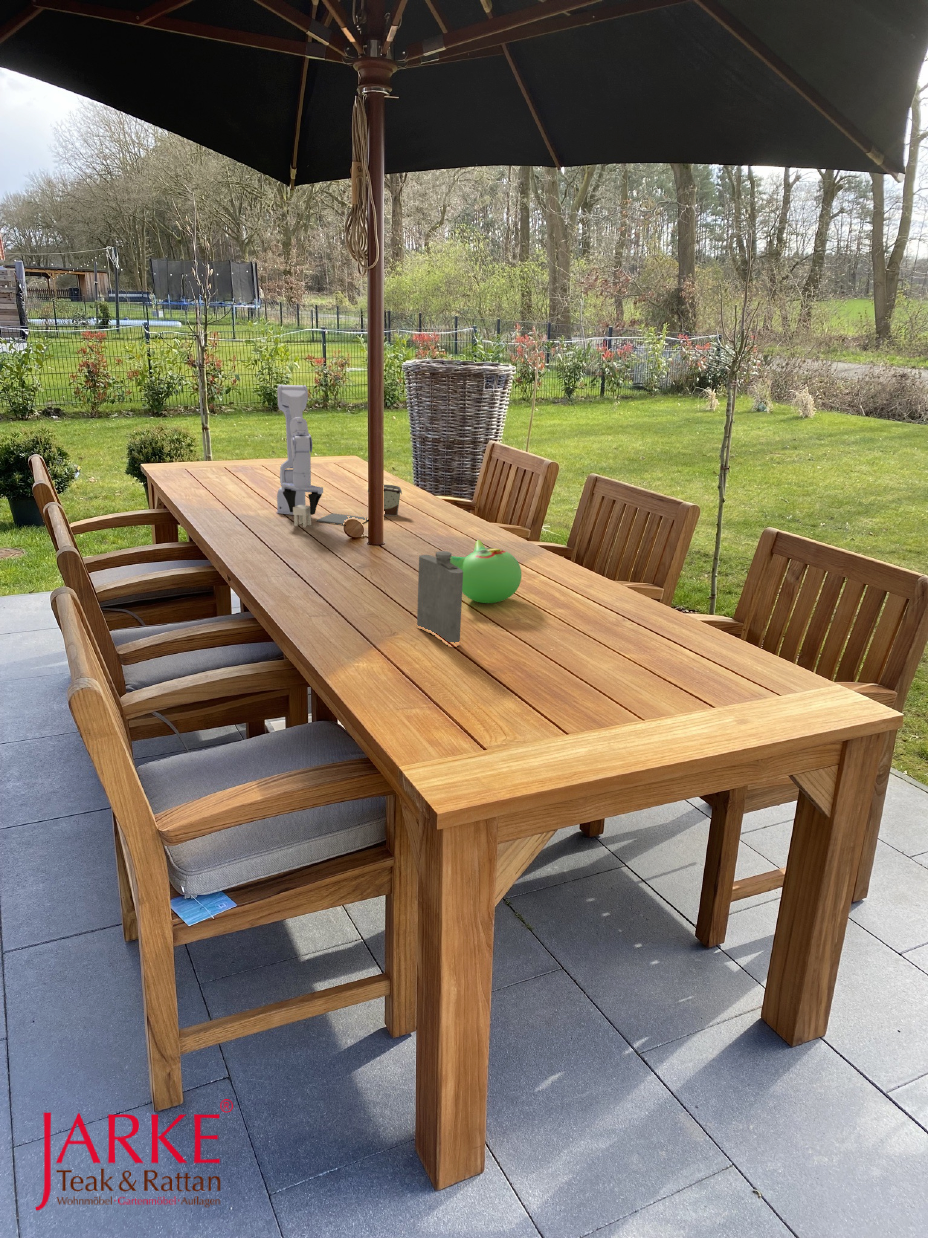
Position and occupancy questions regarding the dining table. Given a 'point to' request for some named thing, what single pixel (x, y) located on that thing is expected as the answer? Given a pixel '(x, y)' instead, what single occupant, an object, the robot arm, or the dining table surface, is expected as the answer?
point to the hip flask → (440, 595)
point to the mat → (336, 518)
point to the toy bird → (488, 574)
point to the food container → (391, 499)
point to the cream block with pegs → (302, 515)
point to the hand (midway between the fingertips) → (302, 512)
